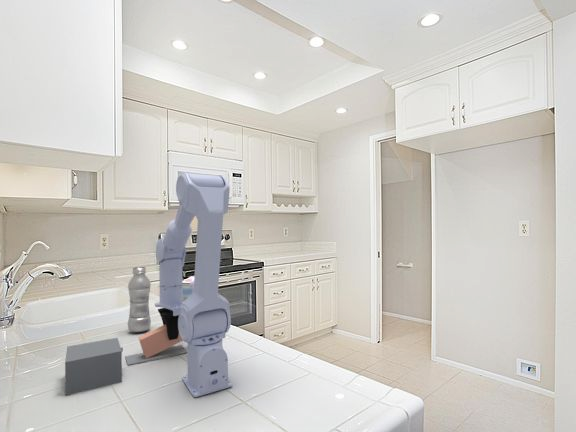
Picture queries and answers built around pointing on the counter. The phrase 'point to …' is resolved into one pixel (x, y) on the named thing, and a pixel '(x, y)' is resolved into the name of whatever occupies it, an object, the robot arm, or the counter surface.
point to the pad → (163, 354)
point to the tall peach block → (156, 341)
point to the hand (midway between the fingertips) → (171, 337)
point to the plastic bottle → (139, 301)
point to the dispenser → (93, 365)
